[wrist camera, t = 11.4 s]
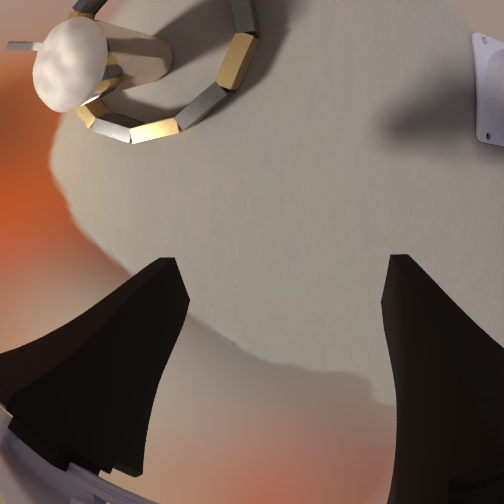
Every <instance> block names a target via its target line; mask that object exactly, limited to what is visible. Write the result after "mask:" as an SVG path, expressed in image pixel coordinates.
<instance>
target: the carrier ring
mask: <svg viewBox="0 0 504 504" xmlns="http://www.w3.org/2000/svg"><path fill="white" fill-rule="evenodd" d="M106 1H107V0H78V1H77V3H76V4H75V5H74V7H73V9H74V10H75V11H76V12H70V14H69V17H68V20H69V19H71V18H74V17H87V18H90V19H94V18H95V15H96V13H97V12H98V11H99V10H100V8H101V7H102V6H103V5H104V4H105V3H106ZM230 2H231V8H232V14H233V19H234V25H235V31H236V32H235V35H234V37H233V39H232V41H231V44H230V46H229V48H228V50H227V53H226V55H225V57H224V60H223V62H222V65H221V67H220V70H219V72H218V74H217V77H216V80H215V82H214V83H213V84H212V85H211V86H209V87H208V88H207V89H206V90H205V91H203V92H202V93H201V94H200V95H199V96H198V97H197V98H195V99H194V100H193V101H192V102H191V103H190V104H189V105H188V106H186V107H185V108H184V109H183V110H182V111H181V112H180V113H179V114H178V115H177V116H172V117H168V118H164V119H160V120H156V121H152V122H148V123H144V122H141V121H138V120H135V119H132V118H129V117H125V116H122V115H119V114H115V113H112V112H111V111H110V110H109V109H108V107H107V106H106V105H105V104H104V103H103V102H102V100H101V99H100V98H99V99H96V100H94V101H91V102H89V103H86V104H84V105H82V106H79V107H77V108H75V109H74V110H75V112H76V113H77V114H78V116H79V117H80V118H81V119H82V121H83V122H84V123H85V124H86V125H87V127H88V128H91V127H92V131H95V132H98V133H101V134H104V135H107V136H110V137H112V138H115V139H118V140H121V141H124V142H127V143H131V142H133V143H137V142H141V141H145V140H149V139H154V138H158V137H162V136H167V135H172V134H177V133H180V132H182V131H184V130H186V129H188V128H190V127H192V126H194V125H196V124H197V123H198V122H200V121H201V120H202V119H203V118H204V117H205V116H207V115H208V114H209V113H210V112H211V111H213V110H214V109H215V108H216V107H218V106H219V105H220V104H221V103H223V102H224V101H225V100H226V99H228V98H229V97H230V96H232V95H233V94H234V93H235V92H234V91H233V89H238V88H239V86H240V84H241V81H242V79H243V77H244V74H245V72H246V70H247V67H248V65H249V63H250V61H251V58H252V56H253V54H254V52H255V50H256V47H257V45H258V43H259V40H258V39H257V38H255V37H258V36H260V32H259V26H258V20H257V15H256V9H255V3H254V0H230Z"/></svg>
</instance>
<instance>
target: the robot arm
mask: <svg viewBox="0 0 504 504" xmlns="http://www.w3.org/2000/svg"><path fill="white" fill-rule="evenodd" d="M482 38H483V39H484V40H485V43H484V42H483V40H482ZM472 43H473V51H474V60H475V71H476V90H477V122H476V137H477V139H478V140H479V141H481V142H484V143H489V144H494V145H499V146H504V42H502V41H500V40H498V39H495V38H493V37H490V36H488V35H485V34H483V33H480V32H473V33H472ZM487 133H488V138H486V134H487ZM189 302H190V299H189V296H188V293H187V291H186V288H185V285H184V283H183V280H182V277H181V274H180V271H179V269H178V266H177V263H176V260H175V257H174V258H159V259H157V260H155V261H154V262H152V263H151V264H149V265H148V266H146V267H145V268H144V269H142V270H141V271H140V272H138V273H137V274H136V275H134V276H133V277H132V278H130V279H129V280H128V281H126V282H125V283H124V284H122V285H121V286H120V287H118V288H117V289H116V290H115V291H113V292H112V293H110V294H109V295H108V296H106V297H105V298H104V299H102V300H101V301H99V302H98V303H97V304H95V305H94V306H93V307H91V308H90V309H88V310H87V311H86V312H84V313H83V314H81V315H80V316H78V317H76V318H75V319H73V320H72V321H70V322H69V323H67V324H65V325H64V326H62V327H60V328H58V329H56V330H54V331H52V332H50V333H49V334H47V335H45V336H43V337H41V338H39V339H37V340H35V341H32V342H30V343H28V344H26V345H23V346H21V347H18V348H16V349H13V350H10V351H7V352H4V353H1V354H0V405H1V406H2V407H3V408H4V409H5V410H6V411H8V412H9V413H10V414H11V415H13V418H12V417H11V416H10V415H9V414H8V413H7V412H5V411H4V410H3V409H2V408H1V407H0V491H1V493H2V495H3V496H4V498H5V500H6V502H7V504H106V502H108V503H110V504H159V503H156V502H154V501H151V500H149V499H146V498H144V497H141V496H139V495H136V494H134V493H132V492H129V491H127V490H125V489H122V488H121V487H119V486H116V485H114V484H112V483H110V482H108V481H106V480H104V479H102V478H101V477H99V476H98V475H99V472H100V470H102V471H104V472H106V473H108V474H110V473H111V471H112V468H114V469H116V470H119V471H121V472H123V473H125V474H127V475H130V476H132V477H138V476H140V475H142V474H143V460H144V450H145V442H146V436H147V430H148V424H149V420H150V415H151V411H152V406H153V402H154V399H155V395H156V391H157V388H158V384H159V381H160V379H161V376H162V373H163V371H164V369H165V366H166V364H167V361H168V359H169V357H170V354H171V352H172V350H173V348H174V345H175V343H176V341H177V338H178V336H179V334H180V331H181V329H182V326H183V324H184V321H185V317H186V314H187V310H188V306H189ZM381 306H382V315H383V324H384V331H385V336H386V340H387V345H388V350H389V355H390V360H391V365H392V371H393V376H394V382H395V390H396V402H397V434H396V451H395V461H394V469H393V476H392V483H391V488H390V493H389V497H388V502H387V504H504V348H503V347H502V346H501V345H499V344H498V343H497V342H496V341H495V340H494V339H492V338H491V337H490V336H489V335H488V334H487V333H486V332H485V331H484V330H483V329H481V328H480V327H479V326H478V325H477V324H476V323H475V322H474V321H473V320H472V319H471V318H470V317H469V316H468V315H467V314H466V313H465V312H464V311H463V310H462V309H461V308H460V307H459V306H458V305H457V304H456V303H455V302H454V301H453V300H452V299H451V298H450V297H449V296H448V295H447V294H446V293H445V292H444V291H443V290H442V289H441V288H440V287H439V286H438V285H437V284H436V283H435V281H434V280H433V279H432V278H431V277H430V276H429V275H428V274H427V273H426V272H425V271H424V270H423V269H422V268H421V267H420V266H419V265H418V264H417V263H416V262H415V261H414V260H413V259H412V258H411V257H410V256H409V255H408V254H399V255H390V260H389V265H388V271H387V276H386V281H385V286H384V291H383V295H382V300H381Z"/></svg>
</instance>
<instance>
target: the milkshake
mask: <svg viewBox="0 0 504 504" xmlns="http://www.w3.org/2000/svg"><path fill="white" fill-rule="evenodd" d="M6 50H30V51H38V54H37V57H36V61H35V64H34V68H33V80H34V86H35V89H36V92H37V93H38V95H39V97H40V98H41V99H42V101H43V102H44V103H45V104H46V105H47V106H48V107H49V108H50V109H52V110H54V111H57V112H67V111H70V110H73V109H75V108H77V107H79V106H82V105H84V104H86V103H89V102H91V101H94V100H96V99H99V98H101V97H104V96H107V95H109V94H112V93H115V92H119V91H122V90H125V89H129V88H132V87H136V86H140V85H144V84H148V83H152V82H156V81H157V80H159V79H160V78H161V77H163V76H164V75H165V74H167V73H168V72H169V69H170V67H171V64H172V62H173V59H174V58H173V54H172V50H171V46H170V45H169V44H167V43H166V42H164V41H163V40H161V39H160V38H157V37H154V36H151V35H148V34H145V33H141V32H138V31H134V30H131V29H127V28H123V27H119V26H116V25H112V24H109V23H105V22H102V21H98V20H94V19H90V18H87V17H74V18H71V19H69V20H66V21H64V22H62V23H60V24H59V25H57V26H56V27H55V28H54V29H53V30H52V31H51V32H50V33H49V35H48V36H47V38H46V39H45V40H44V42H28V41H27V42H26V41H9V42H8V44H7V46H6Z"/></svg>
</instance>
